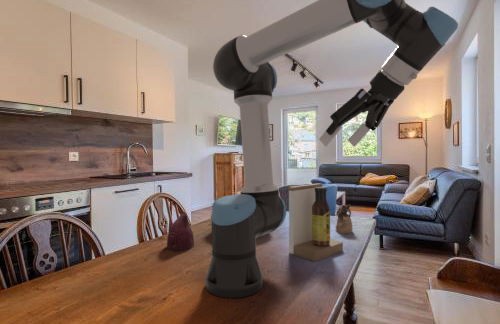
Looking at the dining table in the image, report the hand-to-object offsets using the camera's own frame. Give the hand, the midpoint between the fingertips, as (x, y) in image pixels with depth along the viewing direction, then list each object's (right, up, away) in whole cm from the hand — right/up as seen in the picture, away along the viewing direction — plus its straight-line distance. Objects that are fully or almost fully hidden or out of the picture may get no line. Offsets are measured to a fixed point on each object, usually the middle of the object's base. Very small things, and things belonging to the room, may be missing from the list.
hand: (337, 143), depth 83 cm
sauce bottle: (+1, -34, +22) cm, 40 cm away
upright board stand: (-1, -37, +23) cm, 43 cm away
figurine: (+17, -36, +49) cm, 63 cm away
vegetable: (-51, -37, +30) cm, 70 cm away
